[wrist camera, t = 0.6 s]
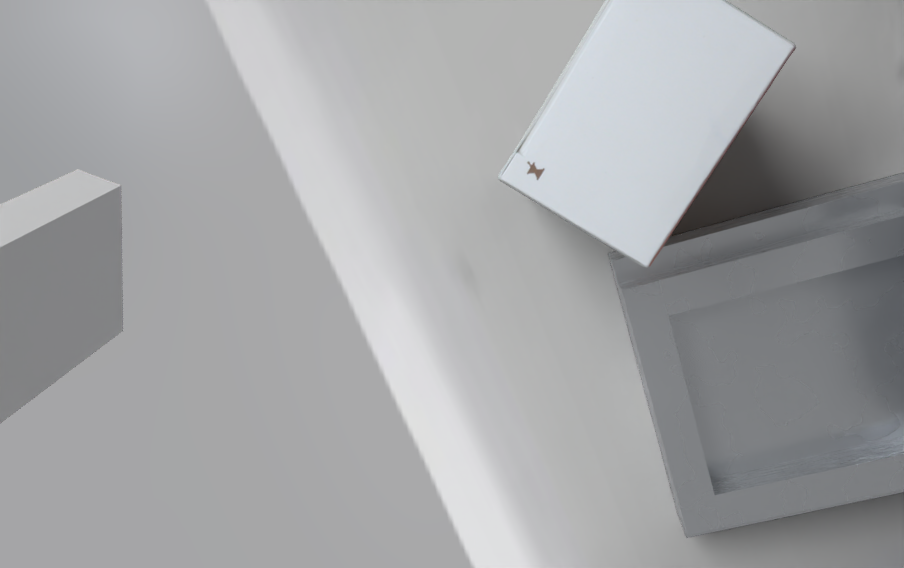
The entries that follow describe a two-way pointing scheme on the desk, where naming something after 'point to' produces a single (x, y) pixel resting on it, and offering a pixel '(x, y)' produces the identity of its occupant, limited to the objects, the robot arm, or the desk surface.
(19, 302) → the robot arm
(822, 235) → the grey bin
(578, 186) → the small box
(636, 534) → the desk surface
